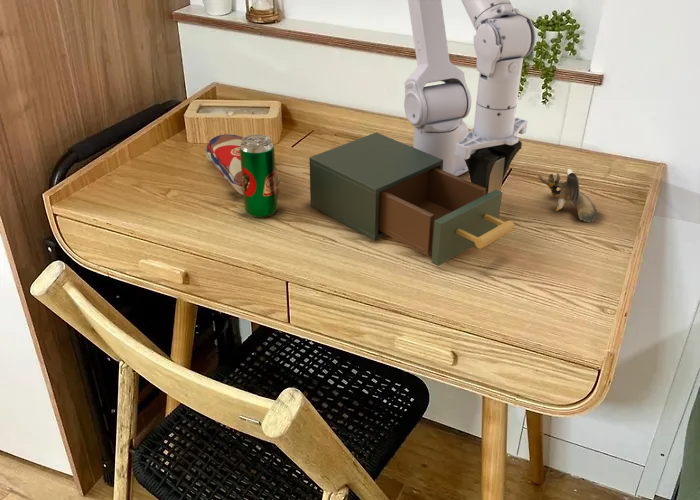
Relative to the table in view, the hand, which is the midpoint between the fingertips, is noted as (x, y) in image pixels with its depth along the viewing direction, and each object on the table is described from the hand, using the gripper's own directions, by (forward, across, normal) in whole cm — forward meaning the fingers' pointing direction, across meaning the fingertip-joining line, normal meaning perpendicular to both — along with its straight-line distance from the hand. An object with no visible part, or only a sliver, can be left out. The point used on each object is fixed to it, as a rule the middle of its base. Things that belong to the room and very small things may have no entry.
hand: (486, 187), depth 109 cm
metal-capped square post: (+1, 0, 0) cm, 1 cm away
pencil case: (+4, -20, +36) cm, 41 cm away
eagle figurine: (+4, +10, -8) cm, 14 cm away
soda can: (+4, -26, +24) cm, 35 cm away
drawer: (+3, -11, -2) cm, 12 cm away
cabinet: (+4, -12, +12) cm, 17 cm away
